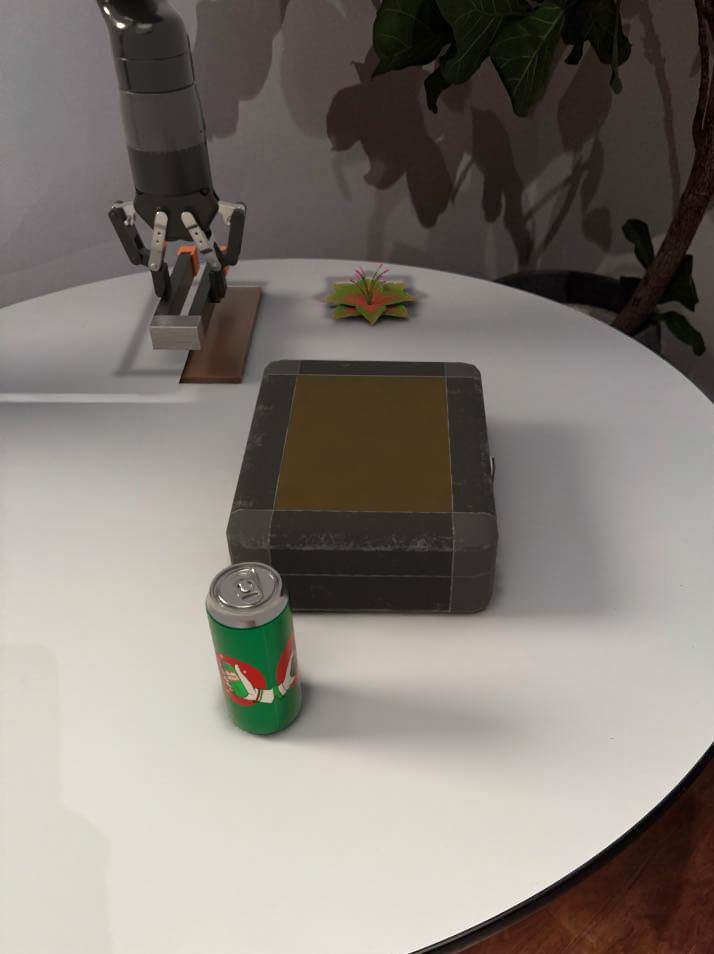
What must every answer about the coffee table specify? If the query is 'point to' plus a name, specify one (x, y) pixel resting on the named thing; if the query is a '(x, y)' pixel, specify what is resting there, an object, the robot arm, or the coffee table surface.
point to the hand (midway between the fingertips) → (193, 299)
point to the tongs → (167, 321)
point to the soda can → (255, 646)
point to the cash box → (370, 486)
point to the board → (225, 339)
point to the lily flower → (369, 298)
